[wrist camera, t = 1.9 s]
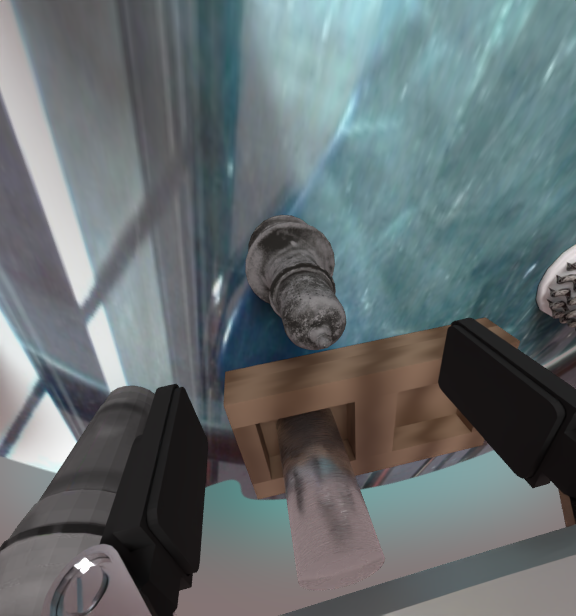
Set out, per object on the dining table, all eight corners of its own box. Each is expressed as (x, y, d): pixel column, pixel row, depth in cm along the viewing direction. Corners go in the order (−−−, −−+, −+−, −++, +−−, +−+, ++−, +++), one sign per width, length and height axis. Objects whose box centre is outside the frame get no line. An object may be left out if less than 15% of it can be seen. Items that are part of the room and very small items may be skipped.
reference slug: (331, 395, 28) (386, 540, 18) (334, 433, 31) (382, 576, 21) (271, 408, 28) (292, 565, 17) (280, 445, 31) (303, 597, 20)
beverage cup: (143, 439, 29) (9, 864, 12) (72, 408, 26) (-262, 940, 8) (191, 399, 27) (114, 826, 10) (121, 360, 24) (-169, 901, 7)
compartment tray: (485, 317, 28) (520, 341, 25) (458, 416, 36) (482, 445, 32) (225, 371, 26) (223, 405, 23) (255, 463, 34) (257, 499, 31)
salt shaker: (297, 296, 24) (345, 412, 13) (231, 268, 22) (226, 381, 11) (335, 232, 21) (426, 313, 11) (265, 195, 19) (298, 250, 9)
